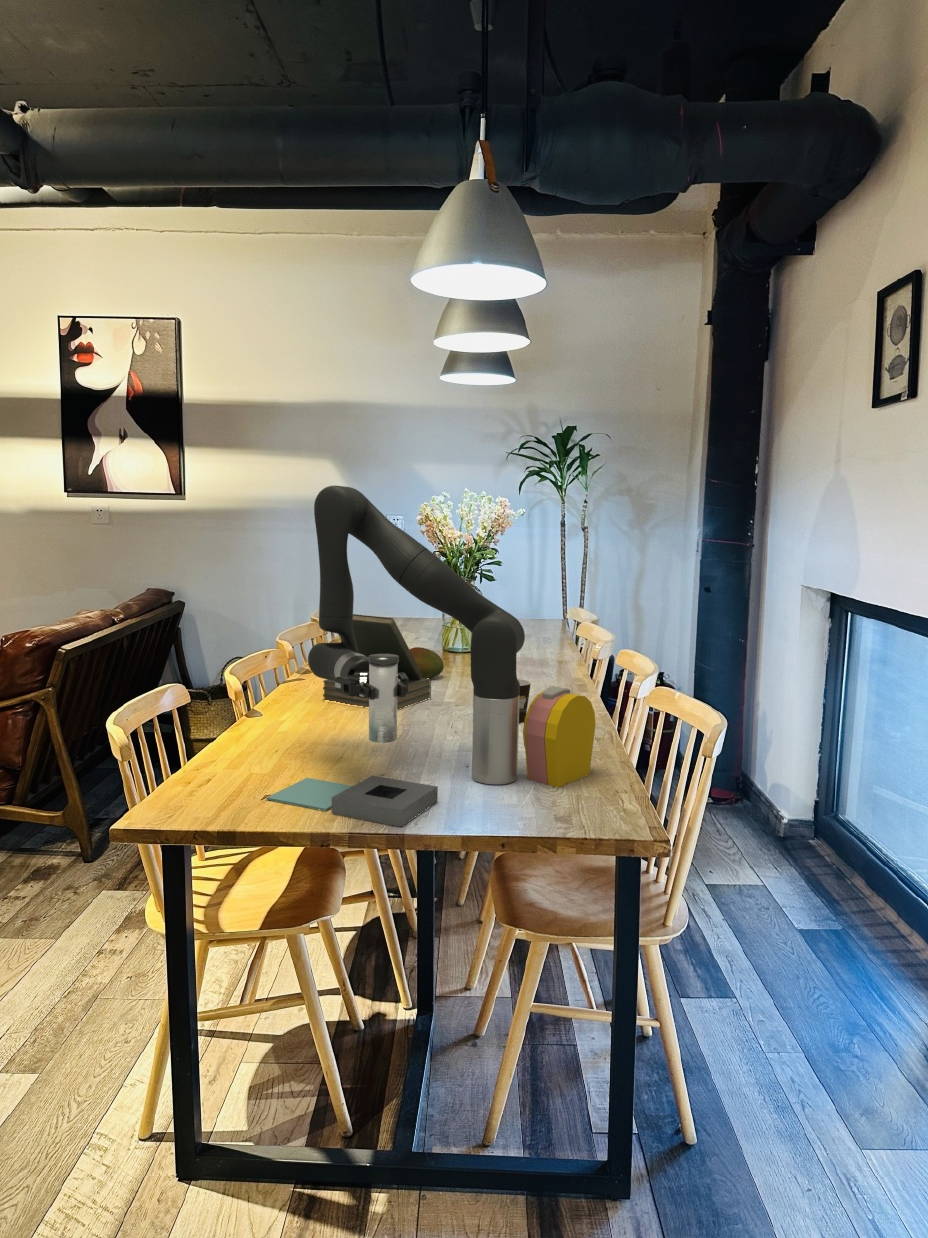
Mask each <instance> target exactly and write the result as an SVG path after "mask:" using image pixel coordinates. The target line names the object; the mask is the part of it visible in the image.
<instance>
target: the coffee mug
mask: <svg viewBox="0 0 928 1238" xmlns="http://www.w3.org/2000/svg"><path fill="white" fill-rule="evenodd" d="M517 679H518V681H519V683H520V696H519V724H522V723H521V722H523V723H524V721H525V716H526V714H527V711H528V707H529V706H528V703H529V698H530V691H531V685H532V683H531V682H532V681H529V680H527V679H521V678H517Z"/></svg>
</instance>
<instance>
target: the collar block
mask: <svg viewBox="0 0 928 1238" xmlns="http://www.w3.org/2000/svg"><path fill="white" fill-rule="evenodd" d="M438 789H439V788H438V786H437V785H432V784H425V783H418V782H413V781H407V780H402V779H394V778H390V777H383V776H378V775H377V776H376V775H370V776H369V777H366V778H364V779H362V780H361V781H360V782H357V783H355V784H354V785H352V787H350V788H348V789H346V790H344V791H342V792H341V793H339V794H337V795H335V796H333V797H332V808H331V814H332V813H333V814H332V815H335V814H337V816H341V815H342V817H346V818H347V817H348V818H351V817H352V818H351V819H356V818H357V820H361V819H363V820H362V821H366V820H367V822H371V823H377V822H379V823H378V824H382V823H383V825H387V824H389V826H392V825H394V826H393V827H397V826H402V827H404V826H405V825H407V824H408V823H409V822H408V821H409V820H411V819H412V818H414V817H415V816H417V815H418V814H420V813H421V812H422V811H424V810H425V809H427V808H428V807H430V806H431V807H432V805H433V806H434V805H435V804H437V803H438V792H439V790H438ZM431 807H430V808H431ZM428 809H429V808H428ZM428 809H427V810H428ZM425 811H426V810H425ZM425 811H424V812H425ZM421 814H422V813H421ZM421 814H420V815H421ZM418 816H419V815H418ZM418 816H417V817H418ZM415 818H416V817H415ZM415 818H414V819H415ZM412 820H413V819H412ZM412 820H411V821H412ZM407 822H408V823H407ZM406 823H407V824H406ZM404 824H405V825H404ZM403 825H404V826H403Z"/></svg>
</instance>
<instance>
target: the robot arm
mask: <svg viewBox="0 0 928 1238" xmlns="http://www.w3.org/2000/svg"><path fill="white" fill-rule="evenodd" d="M313 504H314V505H313V511H314V523H315V524H314V525H315V529H316V530H315V531H316V539H317V550H318V552H317V553H318V561H319V562H318V563H319V564H318V565H319V605H318V606H319V607H318V626H319V628H320V630H322V631H324V632H328V633H334V634H336V635H338V636H339V637H340V642H319V643H317V644H315V645H313V646H312V647H311V648H310V650H309V652H308V655H307V665H308V667H309V669H310V671H311V673H313V675H315V676H316V677H318V678H320V679H324V680H333V681H335V691H337V692H339V693H342V694H345V695H348V696H351V697H353V696H356V697H359V698H369V699H370V700H375V687H373V686H372V685H370V684H369V663H368V657H366V656H365V655H362V654H359V653H358V649H357V645H356V641H355V636H354V629H353V614H354V602H355V601H354V600H355V599H354V584H353V580H352V576H351V572H350V565H349V561H348V560H349V559H348V540H349V535H351V536H353V538H355V539H357V541H358V542H359V541H360V542H361V543H362V544H363V545H365V546H366V547H367V548H368V549H369V550H371V552H373V554H374V555H375V556H376V557H377V559H378V560H379V562H380V564H381V565H382V566H383V568H384V569H385V571H386V572H387V574H389V576H390V577H391V578H392V579H393V580H394V581H395V582H396V583H397V584H398V585H400V586H401V587H402V588H403V589H404V590H405V591H407V592H408V593H409V594H410V595H412V596H413V597H414V598H416V599H417V600H419V601H420V602H422V603H424V604H425V605H427V606H430V607H431V608H433V609H436V610H438V611H440V612H442V613H444V614H445V615H448V616H450V617H451V618H453V619H455V620H456V621H457V622H458V623H460V624H461V625H462V626H464V628H466V629H467V630H468V631H469V632H470V633H471V636H470V678H471V680H470V681H471V683H472V685H473V690H472V691H473V696H472V698H473V699H472V701H473V703H472V742H471V743H472V746H471V748H472V750H471V752H472V753H471V779H473V781H475V782H478V783H482V784H486V785H506V784H511V783H514V782H516V781H517V780H518V769H519V768H518V767H519V766H518V764H519V763H518V762H519V734H520V733H519V732H520V731H519V726H520V723H519V696H520V683H519V681H518V679H519V678H518V676H517V653H519V652H520V651H521V650H522V648H523V647H524V645H525V640H526V636H525V631H524V628H523V625H522V623H521V622H520V620H518V619H517V617H515V616H514V615H513V614H512V613H509V612H508V611H507V610H505V609H503V608H501V606H498V605H497V604H495V603H494V602H492V601H491V600H490V599H488V598H486V597H485V596H483V594H481V593H479V592H478V591H477V590H475V589H474V588H473V587H472V586H471V585H470V584H469V583H468V582H467V581H466V580H465V579H464V578H462V576H460V575H459V574H458V573H457V571H454V570H453V569H452V568H451V567H450V566H449V565H447V564H446V563H445V562H444V561H443V560H442V559H441V558H439V557H438V556H437V555H436V554H434V553H433V552H432V551H431V550H429V548H427V547H426V546H425V545H423V544H422V543H420V542H419V541H418V540H416V539H415V538H414V537H413V536H411V535H410V534H408V533H407V532H406V531H404V530H403V529H402V528H400V527H398V526H397V525H395V524H394V523H393V522H392V521H391V520H389V518H387V517H386V516H385V515H384V514H383V513H382V512H381V511H380V510H379V509H378V508H377V507H376V506H375V505H374V503H372V502H371V501H370V500H369V498H367V496H366V495H364V493H362V492H361V491H360V490H357V488H354V487H351V486H344V485H343V486H342V485H329V486H326V487H323V489H321V490H319V492H318V494H317V495H316V497H315V499H314V503H313ZM407 692H408V677H407V676H406V674H405V673H403V672H401V673H399V674H397V696H399V697H405V695H406V694H407Z"/></svg>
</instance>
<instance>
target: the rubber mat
mask: <svg viewBox="0 0 928 1238" xmlns="http://www.w3.org/2000/svg"><path fill="white" fill-rule="evenodd" d="M352 786H353V785H351V784H346V783H341V782H334V781H328V780H321V779H316V778H312V777H311V778H310V777H305V778H304V779H302V780H299V781H298V782H295V783H293V784H291V785H290V786H289V785H288V786H286V787H285V788H283V789H281V790H278V791H277V792H275V793H272V794H271V795H270V794H269V796H266V798H265V799H267V800H266V801H269V800H271V801H270V802H274V801H277V802H276V803H279V802H282V803H281V804H284V803H287V804H286V805H290V804H291V806H295V805H298V806H297V807H300V806H302V807H301V808H305V807H308V808H307V809H310V808H314V809H313V810H316V809H320V810H319V811H321V810H325V811H324V812H328V811H329V810H328V809H330V808H331V809H332V797H333V796H335V795H337V794H339V793H341V792H342V791H344V790H346V789H348V788H350V787H352ZM331 809H330V810H331ZM327 810H328V811H327Z"/></svg>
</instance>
